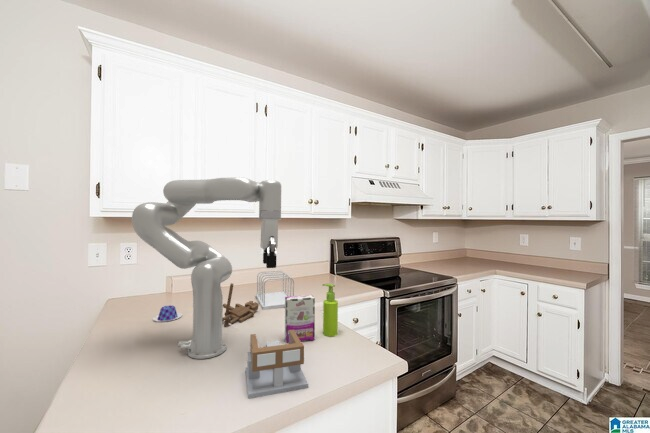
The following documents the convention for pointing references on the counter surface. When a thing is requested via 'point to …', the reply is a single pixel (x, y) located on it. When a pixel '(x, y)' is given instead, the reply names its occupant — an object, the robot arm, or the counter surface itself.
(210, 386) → the counter surface
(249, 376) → the grey post plate
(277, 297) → the file sorter
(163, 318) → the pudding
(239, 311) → the wooden figure
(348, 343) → the counter surface
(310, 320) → the candy bar box
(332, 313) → the soap dispenser
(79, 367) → the counter surface
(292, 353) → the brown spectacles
